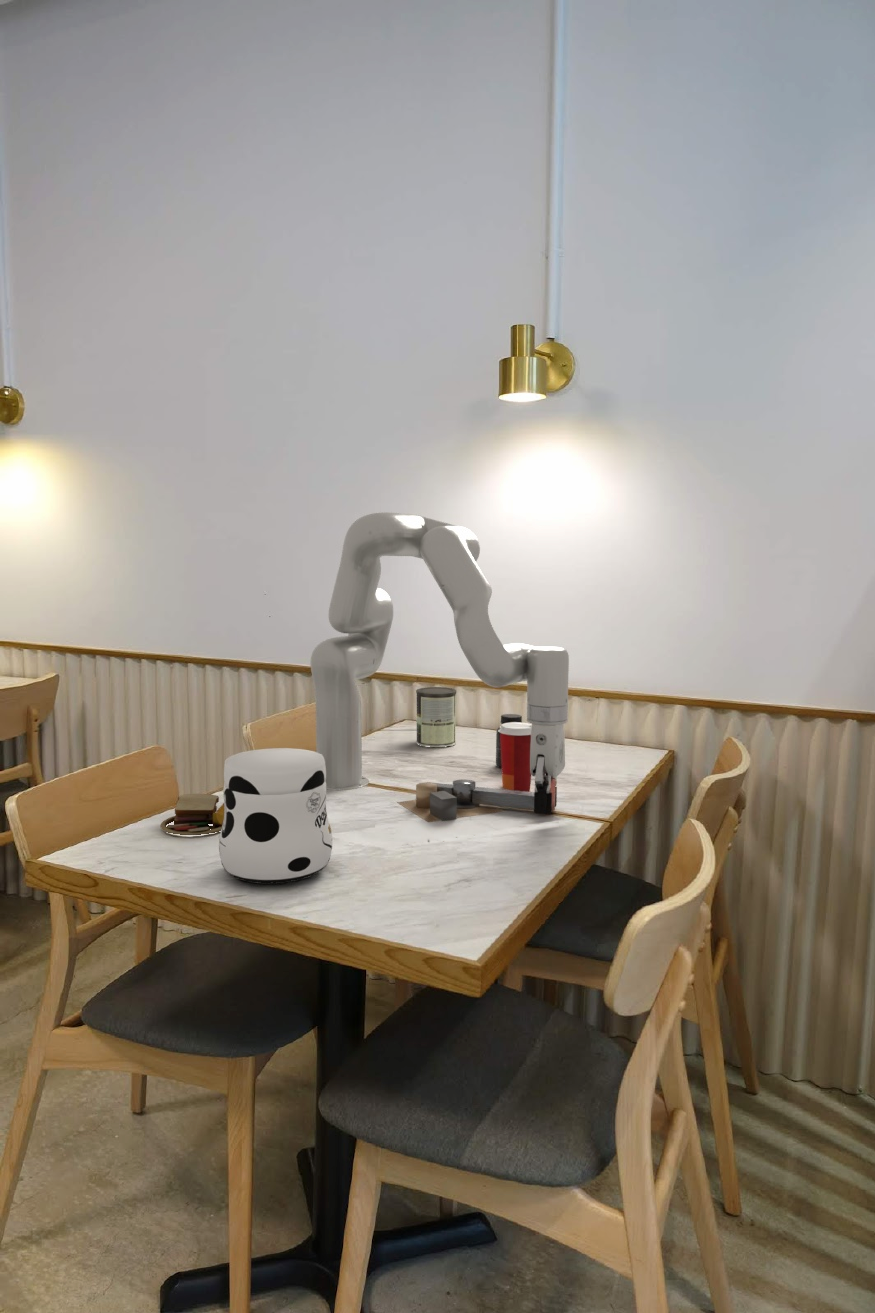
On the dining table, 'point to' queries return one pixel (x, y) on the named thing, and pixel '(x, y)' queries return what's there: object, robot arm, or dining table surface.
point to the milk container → (275, 815)
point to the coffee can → (436, 716)
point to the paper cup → (516, 755)
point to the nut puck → (424, 794)
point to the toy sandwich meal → (195, 815)
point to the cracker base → (459, 811)
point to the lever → (492, 794)
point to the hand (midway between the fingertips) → (545, 809)
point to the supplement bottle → (504, 719)
